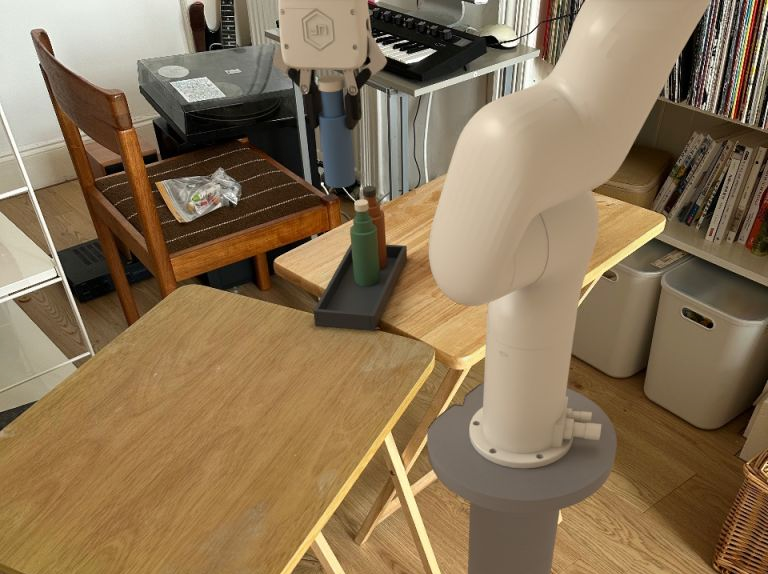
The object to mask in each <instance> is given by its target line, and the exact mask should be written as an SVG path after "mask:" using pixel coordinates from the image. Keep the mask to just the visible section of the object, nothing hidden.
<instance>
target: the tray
mask: <svg viewBox="0 0 768 574" xmlns="http://www.w3.org/2000/svg"><path fill="white" fill-rule="evenodd" d="M386 253H387V266H386V267H385V268H384V269H382V270H379V272H380V281H379V282H378V283H377V284H375V285H373V286H360V285H357V284H356V283H355V280H354V269H353V258H352V247H351V244H350V245H349V246H348V248H347V250H346V252H345V254H344V255H343V257H342V259H341V261H340V262H339V264H338V266H337V268H336V270H335V271H334V273H333V274H332V276H331V278H330V280H329V281H328V284H327V286H326V288H325V289H324V291H323V292H322V294H321V296H320V298H319V300H318V302H317V304H316V305H315V306H314V309H313V311H312V312H313V319H314V326H317V327H326V328H327V327H328V328H330V327H331V328H340V329H349V330H350V329H351V330H360V331H372V332H375V331H376V330H377V328H378V326H379V324H380V321H381V319H382V317H383V314H384V313H385V310H386V308H387V306H388V303H389V301H390V299H391V297H392V294H393V292H394V291H395V289H396V288H395V287H396V286H397V283H398V281H399V280H400V276H401V275H402V273H403V270H404V267H405V265H406V263H407V261H408V249H407V245H402V244H387V243H386Z"/></svg>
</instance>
